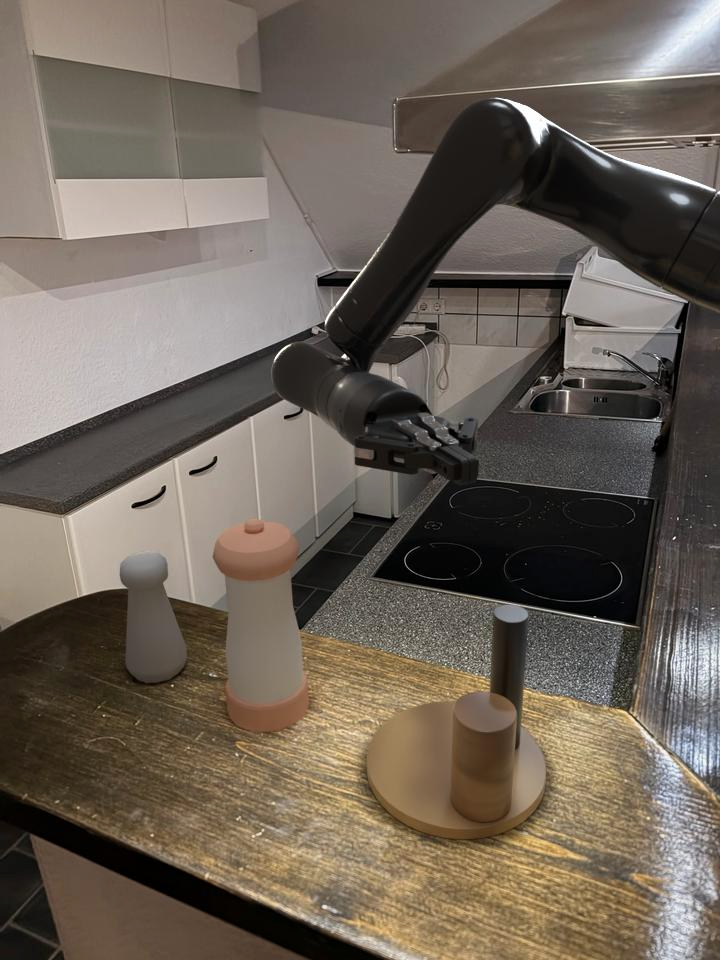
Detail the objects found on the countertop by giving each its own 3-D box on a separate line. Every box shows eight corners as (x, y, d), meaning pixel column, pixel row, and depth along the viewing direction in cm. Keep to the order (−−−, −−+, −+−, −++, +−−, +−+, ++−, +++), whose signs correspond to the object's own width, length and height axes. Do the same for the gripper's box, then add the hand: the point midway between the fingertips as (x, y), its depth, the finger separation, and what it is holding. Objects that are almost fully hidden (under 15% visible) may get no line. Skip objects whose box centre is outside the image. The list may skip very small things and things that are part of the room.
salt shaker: (146, 656, 77) (128, 541, 73) (198, 661, 76) (185, 545, 71) (117, 691, 72) (97, 570, 67) (174, 698, 71) (157, 575, 66)
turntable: (482, 693, 69) (488, 566, 64) (584, 800, 57) (600, 653, 52) (339, 739, 64) (334, 604, 59) (418, 867, 52) (419, 711, 47)
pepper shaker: (322, 698, 70) (313, 509, 63) (287, 750, 64) (272, 546, 57) (253, 681, 73) (237, 498, 66) (212, 730, 67) (190, 532, 60)
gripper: (312, 387, 72) (396, 440, 57) (435, 371, 77) (541, 416, 62) (315, 462, 74) (396, 531, 60) (434, 442, 79) (535, 501, 65)
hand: (469, 472), depth 61 cm, fingers closed
